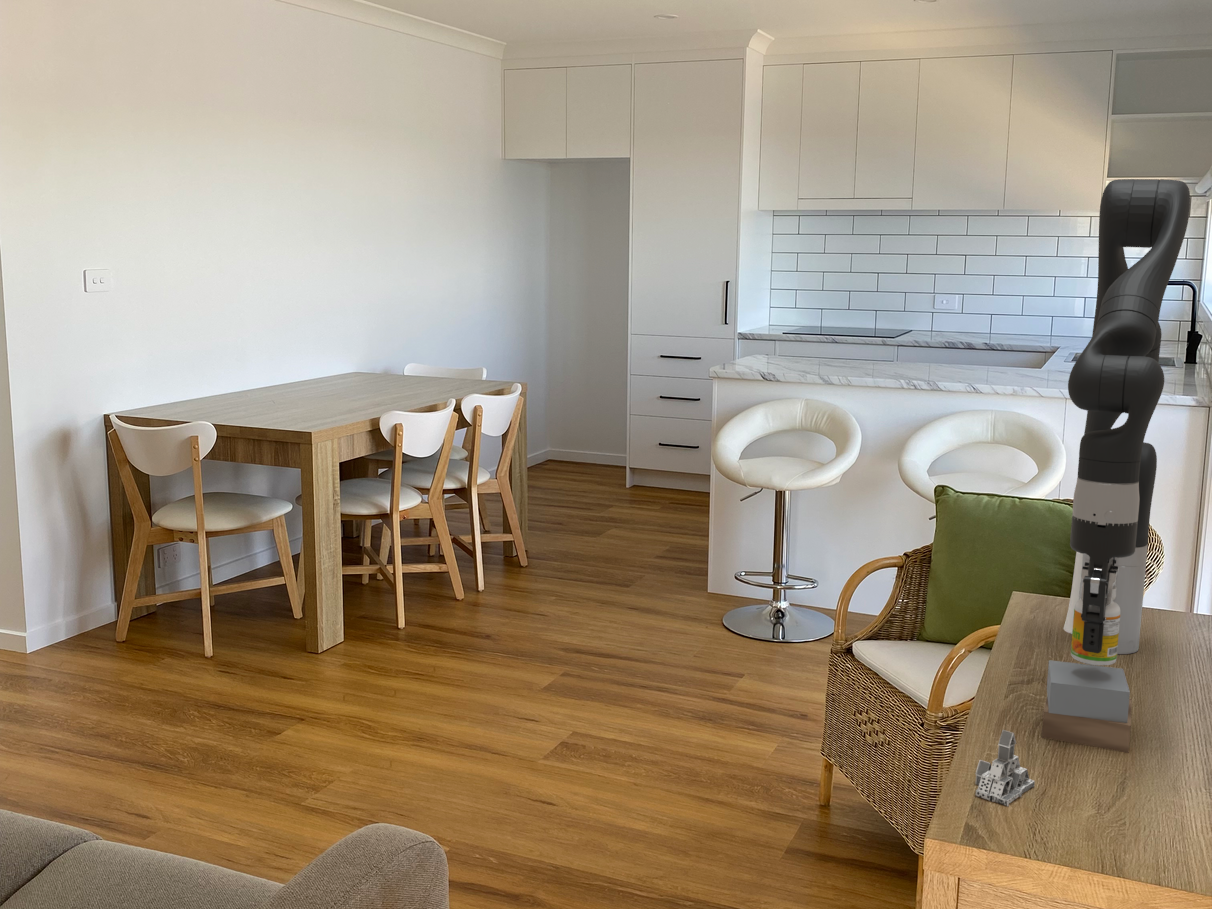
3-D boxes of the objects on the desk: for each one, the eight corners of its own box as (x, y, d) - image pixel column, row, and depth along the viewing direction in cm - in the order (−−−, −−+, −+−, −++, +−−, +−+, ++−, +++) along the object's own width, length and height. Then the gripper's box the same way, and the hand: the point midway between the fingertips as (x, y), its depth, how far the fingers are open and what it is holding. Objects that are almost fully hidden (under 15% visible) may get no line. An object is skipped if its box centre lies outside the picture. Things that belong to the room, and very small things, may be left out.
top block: (1046, 688, 147) (1048, 660, 146) (1120, 698, 144) (1123, 668, 143) (1048, 712, 138) (1051, 682, 138) (1127, 723, 135) (1129, 692, 135)
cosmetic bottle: (1095, 627, 187) (1106, 500, 183) (1107, 638, 181) (1118, 507, 177) (1058, 625, 187) (1068, 499, 184) (1069, 636, 181) (1080, 506, 178)
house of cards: (971, 763, 132) (975, 703, 131) (1041, 787, 126) (1047, 724, 125) (933, 786, 126) (937, 722, 125) (1006, 812, 120) (1011, 746, 119)
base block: (1047, 714, 148) (1049, 686, 148) (1129, 728, 144) (1131, 699, 143) (1041, 741, 139) (1043, 711, 139) (1128, 756, 135) (1131, 725, 134)
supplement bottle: (1066, 651, 143) (1072, 578, 142) (1110, 654, 142) (1116, 581, 141) (1075, 664, 138) (1081, 589, 137) (1121, 668, 137) (1127, 592, 136)
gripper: (1079, 502, 145) (1069, 625, 148) (1065, 521, 133) (1055, 655, 136) (1141, 508, 142) (1130, 634, 144) (1133, 528, 129) (1121, 666, 132)
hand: (1094, 644), depth 140 cm, fingers closed on supplement bottle, 5 cm apart
